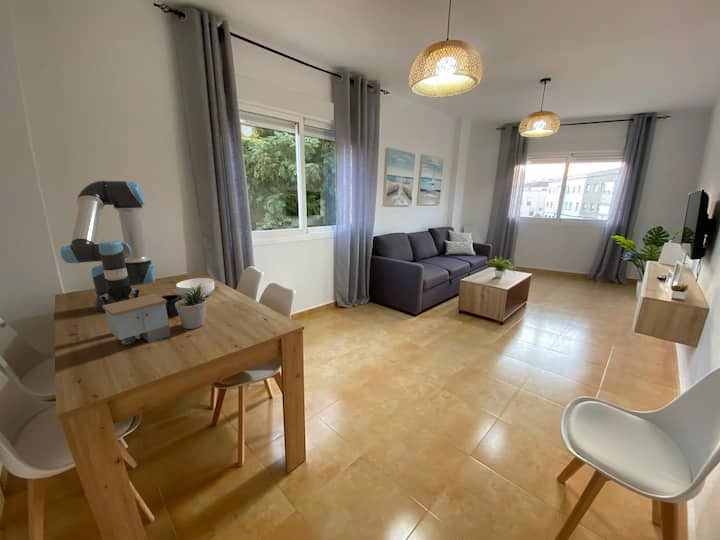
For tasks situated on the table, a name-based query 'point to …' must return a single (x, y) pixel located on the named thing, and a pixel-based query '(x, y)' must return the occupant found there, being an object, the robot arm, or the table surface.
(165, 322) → the cabinet
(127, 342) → the token
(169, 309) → the mug
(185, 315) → the potted plant
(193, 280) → the bowl
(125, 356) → the table surface
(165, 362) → the table surface
